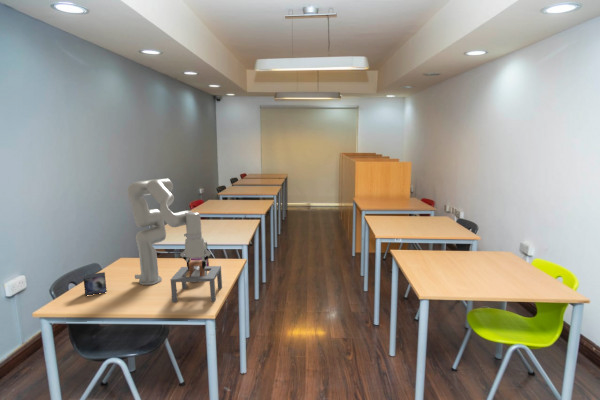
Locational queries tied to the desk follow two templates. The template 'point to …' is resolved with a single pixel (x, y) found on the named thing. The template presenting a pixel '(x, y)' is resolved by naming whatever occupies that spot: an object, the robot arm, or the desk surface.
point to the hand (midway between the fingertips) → (196, 267)
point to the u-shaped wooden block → (196, 263)
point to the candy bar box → (204, 255)
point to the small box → (95, 283)
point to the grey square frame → (197, 279)
